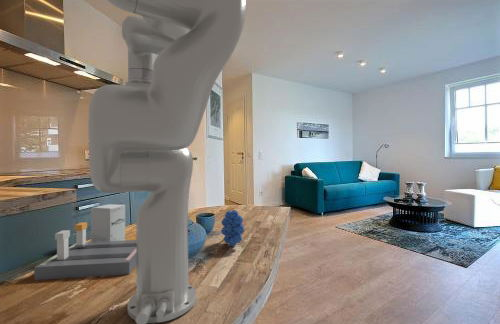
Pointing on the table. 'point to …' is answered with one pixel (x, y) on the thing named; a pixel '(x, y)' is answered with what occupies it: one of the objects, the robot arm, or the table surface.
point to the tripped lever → (81, 234)
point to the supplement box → (108, 223)
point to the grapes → (232, 227)
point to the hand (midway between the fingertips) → (143, 141)
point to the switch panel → (88, 259)
